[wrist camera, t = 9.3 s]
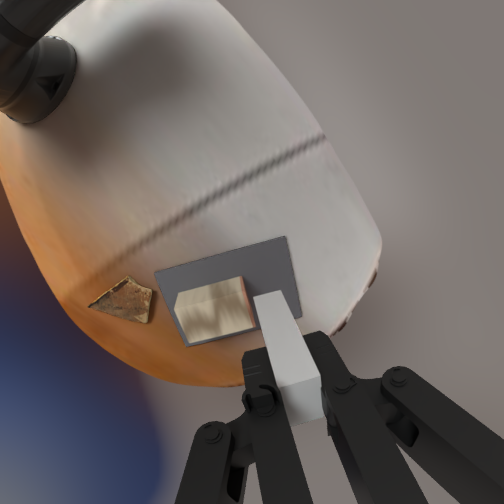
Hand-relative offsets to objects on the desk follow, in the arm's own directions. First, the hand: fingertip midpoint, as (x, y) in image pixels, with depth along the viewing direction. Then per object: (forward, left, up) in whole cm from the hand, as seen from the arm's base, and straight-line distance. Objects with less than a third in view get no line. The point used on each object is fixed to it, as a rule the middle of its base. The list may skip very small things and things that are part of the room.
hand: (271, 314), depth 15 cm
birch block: (+11, -2, -23) cm, 25 cm away
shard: (+8, -21, -26) cm, 35 cm away
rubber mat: (+11, -4, -26) cm, 28 cm away
